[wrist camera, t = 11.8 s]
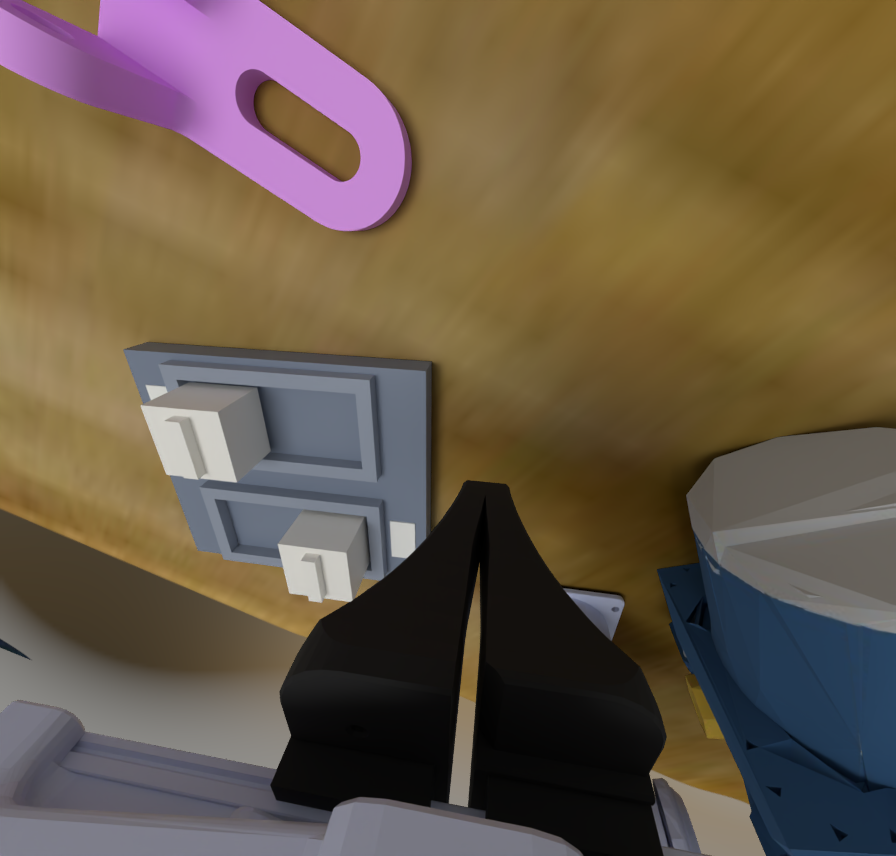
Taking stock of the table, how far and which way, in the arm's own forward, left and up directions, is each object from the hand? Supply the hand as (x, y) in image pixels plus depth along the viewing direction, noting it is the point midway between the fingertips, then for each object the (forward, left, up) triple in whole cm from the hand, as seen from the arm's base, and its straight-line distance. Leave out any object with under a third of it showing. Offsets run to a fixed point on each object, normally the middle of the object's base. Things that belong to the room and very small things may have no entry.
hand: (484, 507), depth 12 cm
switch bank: (-6, +12, -10) cm, 17 cm away
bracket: (+12, +11, -10) cm, 19 cm away
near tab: (-2, +15, -8) cm, 17 cm away
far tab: (-10, +9, -8) cm, 16 cm away
